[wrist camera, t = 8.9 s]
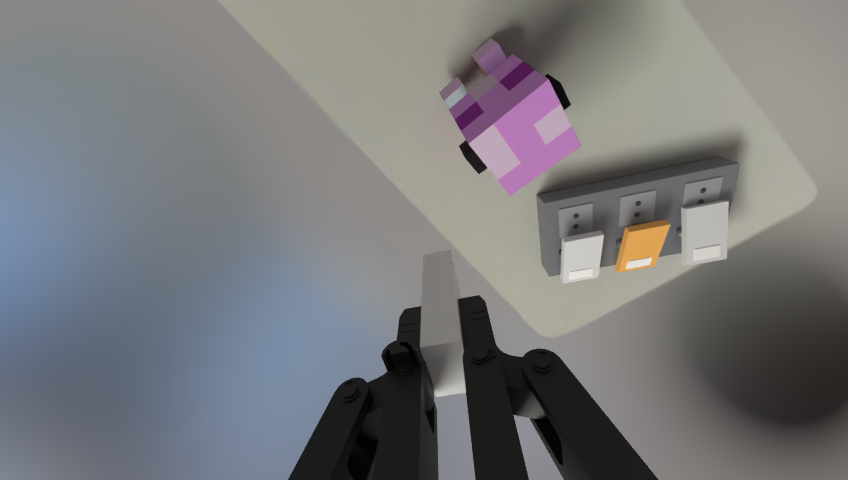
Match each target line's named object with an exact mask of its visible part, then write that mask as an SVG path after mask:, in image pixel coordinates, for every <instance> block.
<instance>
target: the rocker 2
mask: <svg viewBox="0 0 848 480" xmlns="http://www.w3.org/2000/svg"><path fill="white" fill-rule="evenodd" d="M670 225H671V224H670V223H669V222H668V221H667V220H660V221H655V222H650V223H645V224H640V225H634V226H629V227H625V231H624V235H623V239H622V243H621V246H620V250H619V254H618V258H617V262H616V266H615V268H616V270H617V271H618V273H619V272H625V271H630V270H636V269H642V268H647V267H653V266H655V265H656V262H657V260H658V257H659V254H660V251H661V249H662V246H663V243H664V241H665V238H666V235H667V233H668V230H669V227H670Z"/></svg>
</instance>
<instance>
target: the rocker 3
mask: <svg viewBox="0 0 848 480" xmlns="http://www.w3.org/2000/svg"><path fill="white" fill-rule="evenodd" d="M728 207H729V201H726V200H719V201H714V202H708V203H703V204H698V205H693V206H688V207H683V208H681V224H682V263H683V264H685V265H687V266H688V265H694V264H700V263H705V262H711V261H717V260H723V259H727V237H728Z"/></svg>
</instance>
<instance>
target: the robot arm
mask: <svg viewBox="0 0 848 480" xmlns="http://www.w3.org/2000/svg"><path fill="white" fill-rule="evenodd" d="M422 276H423V277H422V303H421V306H420V307H414V308H408V309H405V310H404V311H403V313H402V314H401V316H400V318H399V327H398V335H397V341H394V342H392V343H390V344H389V345H387V347H386V348H385V349H384V350H383V353H382V355H381V356H382V359H383V361H384V364H385V366H386V369H387V371H388V372H386V373H385V374H384V375H382V376H381V377H379V378H377V379H374V380H372V381H370V382H368V383H367V382H366V381H365V380H364V379H362V378H351V379H349V380H347V381H345V382H344V383H342V384H341V385H340V386H339V387H338V389H337V390H336V391H335V393H334V395H333V397H332V398H331V400H330V402H329V404H328V406H327V408H326V410H325V412H324V414H323V415H322V417H321V419H320V421H319V423H318V425H317V427H316V428H315V430H314V432H313V434H312V436H311V438H310V440H309V442H308V443H307V445H306V447H305V449H304V451H303V453H302V455H301V456H300V459H299V460H298V462H297V464H296V466H295V468H294V470H293V472H292V473H291V475H290V477H289V479H288V480H438V444H437V409H436V406H435V402H434V392H435V395H436V397H439V396H446V395H453V394H460V393H466V396H467V405H468V414H469V423H470V433H471V442H472V451H473V460H474V469H475V478H476V480H529V478H528V474H527V470H526V466H525V461H524V457H523V453H522V449H521V445H520V441H519V437H518V433H517V428H516V424H515V420H514V416H513V415H517V416H523V417H528V418H530V420H531V422H532V424H533V425H534V427H535V429H536V431H537V432H538V434H539V436H540V438H541V440H542V441H543V443H544V445H545V446H546V449H547V450H548V452H549V454H550V455H551V457H552V459H553V461H554V463H555V464H556V466H557V468H558V470H559V471H560V473H561V475H562V477H563V478H564V480H658V479H657V477H656V476H655V475H654V474H653V472H652V471H651V470H650V469H649V468H648V466H647V465H646V464H645V463H644V461H643V460H642V459H641V458H640V456H639V455H638V454H637V453H636V451H635V450H634V449H633V448H632V447H631V445H630V444H629V443H628V442H627V440H626V439H625V438H624V437H623V435H622V434H621V433H620V432H619V431H618V429H617V428H616V427H615V425H614V424H613V423H612V422H611V420H610V419H609V418H608V417H607V416H606V414H605V413H604V412H603V411H602V409H601V408H600V407H599V406H598V405H597V403H596V402H595V401H594V400H593V398H592V397H591V396H590V395H589V393H588V392H587V391H586V390H585V388H584V387H583V386H582V385H581V383H580V382H579V381H578V380H577V378H576V377H575V376H574V375H573V373H572V372H571V371H570V370H569V369H568V367H567V366H566V365H565V364H564V362H563V361H562V360H561V359H560V357H558V356H557V355H556V354H555V353H554V352H551V351H549V350H546V349H534V350H531V351H529V352H527V353H526V354H525V355H524V356H523V357H517V356H511V355H508V354H505V353H503V352H502V351H500V350H499V348H498V347H497V346H496V343H495V340H494V335H493V331H492V327H491V323H490V319H489V315H488V311H487V307H486V303H485V301H484V300H483V299H482V298H481V297H480V296H479V295H478V296H472V297H467V298H461V296H460V289H459V285H458V281H457V276H456V272H455V267H454V263H453V258H452V254H451V250H447V251H442V252H437V253H432V254H427V255H423V275H422Z"/></svg>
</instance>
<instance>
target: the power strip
mask: <svg viewBox="0 0 848 480" xmlns="http://www.w3.org/2000/svg"><path fill="white" fill-rule="evenodd" d="M739 164H740V163H737V162H734V161H731V160H727V159H724V158H720V157H714V158H709V159H704V160H699V161H695V162H690V163H685V164H680V165H676V166H671V167H666V168H661V169H657V170H652V171H647V172H642V173H637V174H633V175H628V176H623V177H618V178H614V179H609V180H604V181H599V182H595V183H590V184H585V185H580V186H575V187H571V188H566V189H561V190H556V191H552V192H547V193H542V194H537V207H538V220H539V232H540V245H541V258H542V265H543V267H544V268H545V270H546V272H547V274H548V275H549V276H555V275H560V274H561V251H562V238H563V237H569V236H574V235H579V234H584V233H589V232H595V231H600V230H601V231H602V233H603V234H604V239H603V246H602V253H601V260H600V267H605V266H611V265H616V262H617V258H618V254H619V250H620V246H621V243H622V239H623V235H624V231H625V227H629V226H634V225H640V224H645V223H650V222H655V221H660V220H667V221H668V222H669V223H670V224H671V225H670V227H669V230H668V233H667V235H666V238H665V241H664V243H663V246H662V249H661V251H660V254H659V257H661V256H667V255H672V254H678V253H682V224H681V208H683V207H688V206H693V205H698V204H703V203H708V202H714V201H719V200H726V201H729V207H728V216H729V211H730V206H731V202H732V197H733V192H734V188H735V183H736V178H737V174H738V169H739Z"/></svg>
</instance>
